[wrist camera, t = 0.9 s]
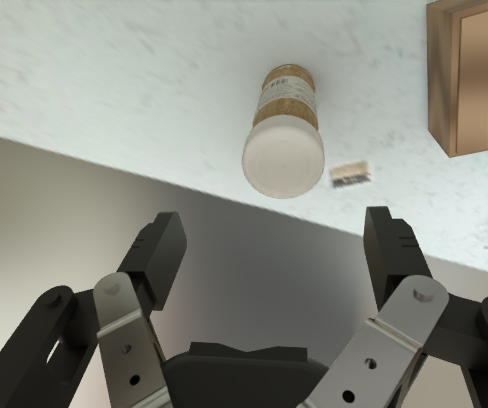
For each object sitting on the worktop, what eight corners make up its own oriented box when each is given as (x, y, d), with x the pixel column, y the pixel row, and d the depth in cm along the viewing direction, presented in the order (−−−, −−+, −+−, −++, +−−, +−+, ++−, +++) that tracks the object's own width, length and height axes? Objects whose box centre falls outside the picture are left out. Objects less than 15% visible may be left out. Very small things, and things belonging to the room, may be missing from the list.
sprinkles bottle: (270, 120, 30) (253, 207, 20) (255, 71, 28) (228, 139, 17) (319, 108, 29) (331, 194, 18) (309, 55, 26) (317, 118, 16)
